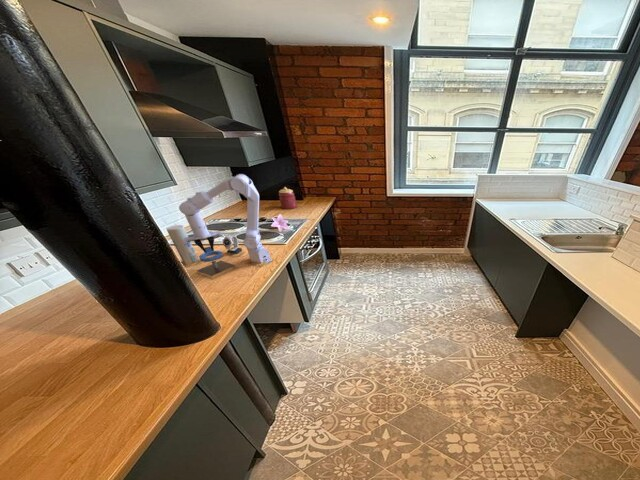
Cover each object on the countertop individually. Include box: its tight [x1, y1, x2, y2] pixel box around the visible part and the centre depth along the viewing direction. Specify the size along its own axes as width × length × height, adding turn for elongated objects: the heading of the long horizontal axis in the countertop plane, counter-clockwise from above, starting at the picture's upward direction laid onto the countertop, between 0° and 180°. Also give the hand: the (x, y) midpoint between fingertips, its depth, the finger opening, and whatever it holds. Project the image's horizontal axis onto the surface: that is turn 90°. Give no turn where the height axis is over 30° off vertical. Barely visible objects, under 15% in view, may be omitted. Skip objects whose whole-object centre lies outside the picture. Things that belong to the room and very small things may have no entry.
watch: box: [222, 235, 243, 255], centre depth 137 cm, size 6×8×11 cm
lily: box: [270, 213, 290, 233], centre depth 173 cm, size 12×12×10 cm
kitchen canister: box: [278, 186, 298, 210], centre depth 218 cm, size 13×13×18 cm
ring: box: [198, 246, 224, 263], centre depth 120 cm, size 12×9×3 cm
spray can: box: [166, 224, 200, 265], centre depth 125 cm, size 6×6×20 cm
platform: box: [196, 260, 237, 277], centre depth 123 cm, size 12×12×5 cm
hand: (209, 252), depth 124 cm, fingers closed on ring, 2 cm apart
